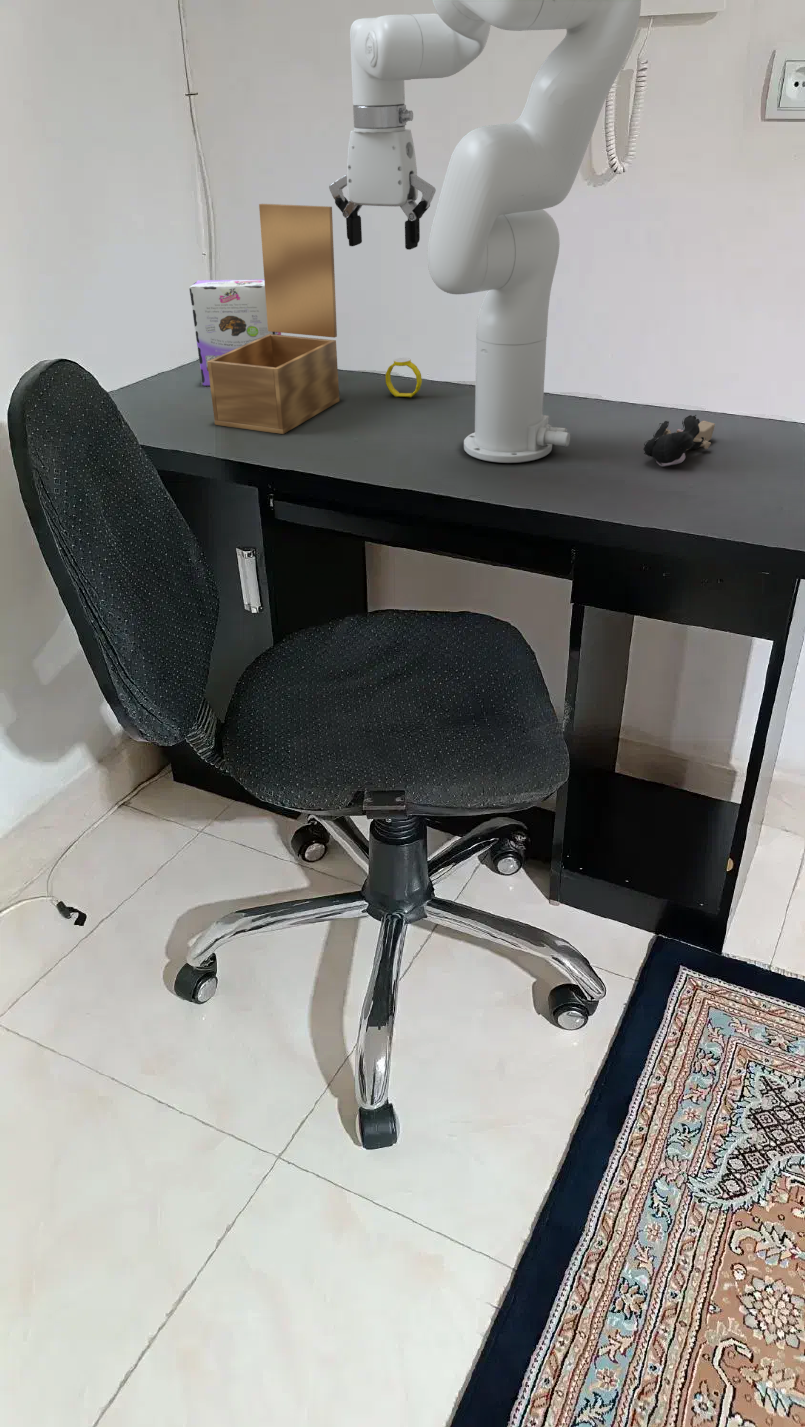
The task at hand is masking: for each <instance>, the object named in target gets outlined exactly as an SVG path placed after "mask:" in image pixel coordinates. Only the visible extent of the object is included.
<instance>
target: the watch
mask: <svg viewBox="0 0 805 1427" xmlns="http://www.w3.org/2000/svg"><path fill="white" fill-rule="evenodd" d="M396 366H397V367H407V368H409V369H411V371H412V372H413V374H414V375H415V380H416V385H415V389H414V391H413V392H399V391H398V390H397V389H396V388H395V387H394V385H393V382H392V379H391V378H392V377H391V376H392V375H391V374H392V371H393V369H394V367H396ZM384 377H385V385H386V387H387V389H388V391H389V392H390V393H391V395H393V397H395V398H412V397H414V396H415V395H417V393H418V392H420V390H421V387H422V383H423V378H422V373H421V371H420V369H419V368H418V366H417V365H416V364H415V363H413V362H412V359H411V358H410V357H397V358H394V359H393V363H392V364H391V365H389V366H388V367H387V370H386V372H385V376H384Z"/></svg>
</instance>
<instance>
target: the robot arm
mask: <svg viewBox="0 0 805 1427" xmlns="http://www.w3.org/2000/svg"><path fill="white" fill-rule="evenodd" d="M431 1H432V4H433V7H434V10H435V12H436V13H407V14H385V15H381V16H377V17H362V18H357V19H356V20H355V19H354V21H353V22H352V24H351V25H350V28H349V45H350V68H351V72H350V73H351V90H352V91H351V92H352V115H353V130H350V132H349V137H348V138H349V139H348V145H347V157H346V159H347V160H346V174H344V175H342V177H340V178H338V179H336V180H335V181H334V182H332V183H331V184H329V186H328V189H329V192H330V194H331V196H332V198H333V200H334V204H335V205H336V207H337V209H338V210H340V212H341V214H342V217H343V218H344V219H345V221H346V222H345V224H346V238H347V240H348V246H349V247H355V246H358V245H360V244H362V243H363V233H362V217H361V215H359V214H358V213H359V212H360V210H361V209H362V207H363V206H369V207H372V206H373V207H400V210H402V212H403V213H404V215H405V216H406V218H407V220H405V221H404V247H405V250H409V251H410V250H413V249H416V248H418V246H419V242H420V239H421V234H420V230H421V229H420V227H421V226H420V224H421V223H420V219H422V217H423V216H424V214H425V213H426V212H427V211H428V210H429V208H430V207H431V202H432V201H433V199H434V196H435V194H436V191H437V190H436V187H435V186H433V185H432V184H430V183H429V182H428V181H426V180H425V179H423V178H421V177H420V176H419V175H418V167H417V158H416V151H415V143H414V140H413V133H412V130H411V129H410V128H409V129H406V126H407V123H408V122H413V120H414V112H413V110H408V108H407V105H406V104H405V103H406V100H405V99H406V98H405V97H406V96H405V93H406V92H405V81H411V80H422V79H443V78H449V77H452V76H453V75H456V74H458V73H459V72H461V71H462V70H463V69H465V68H466V67H467V66H469V65H470V64H471V63H472V62H474V60H476V59H477V58H478V57H479V56H480V55H481V54H482V53H483V51H484V50H485V47H486V46H487V45H486V44H487V42H488V38H489V35H490V31H491V27H492V26H493V27H495V28H497V29H499V30H503V31H513V32H515V31H516V32H522V31H525V32H526V31H552V30H553V31H555V30H566V33H565V35H564V37H563V39H561V41H560V42H559V44H558V45H557V46H556V47H555V48H554V49H553V50H552V51H551V52H550V53H549V54H548V55H547V57H546V58H545V60H544V61H543V63H542V64H541V65H540V67H539V69H538V70H537V72H536V74H535V75H534V78H533V79H532V82H531V85H530V88H529V92H528V95H527V99H526V102H525V104H524V107H523V109H522V112H521V114H520V115H519V117H518V118H517V119H515V120H514V121H512V122H510V123H500V124H491V125H483V126H479V127H476V128H474V129H472V130H470V131H469V132H468V133H466V134H465V135H464V136H463V137H462V138H461V139H460V140H459V141H458V143H457V144H456V145H455V147H454V148H453V151H452V153H451V156H450V159H449V162H448V165H447V168H446V172H445V174H444V179H443V182H442V186H441V189H440V194H439V196H438V197H439V198H438V201H437V204H436V208H435V211H434V216H433V220H432V224H431V228H430V231H429V236H428V242H427V250H426V251H427V254H426V257H427V258H426V259H427V267H428V271H429V275H430V277H431V280H432V282H433V283H434V284H435V286H436V287H437V288H438V289H440V290H441V291H442V292H444V293H447V294H450V295H467V294H475V293H480V292H486V291H487V292H486V293H485V295H484V296H483V297H484V298H483V300H482V301H481V304H480V307H479V310H478V314H477V319H476V327H475V328H476V329H475V330H476V331H475V332H476V333H475V385H474V386H475V387H474V388H475V389H474V391H475V393H474V394H475V395H474V397H475V398H474V432H472V433H470V434H468V435H467V436H466V437H465V438H464V439H463V450H464V451H465V452H466V454H467V455H469V456H470V457H473V458H474V459H477V460H480V461H481V460H482V461H484V462H490V463H500V464H501V463H502V464H517V463H527V462H531V461H532V462H533V461H535V460H539V459H542V458H544V457H546V456H547V455H549V454H550V453H551V452H552V450H553V445H554V446H558V447H564V448H567V447H569V446H570V442H571V433H570V432H568V428H566V427H558V426H557V427H555V426H552V425H551V424H549V423H550V415H545V414H544V399H545V398H544V396H545V395H544V394H545V377H546V376H545V374H546V355H547V337H548V325H549V324H548V322H549V321H548V320H549V309H550V308H549V307H550V300H551V299H550V298H551V292H552V286H553V282H554V277H555V272H556V268H557V264H558V259H559V254H560V244H561V243H560V233H559V229H558V226H557V223H556V222H555V221H556V220H554V218H553V217H552V215H550V213H549V212H548V211H546V209H549V208H554V207H556V206H558V205H560V204H561V203H562V202H563V201H564V200H565V199H566V198H567V196H568V195H569V194H570V191H572V190H571V189H572V187H573V186H574V183H575V181H576V178H577V176H578V173H579V171H580V168H581V165H582V163H583V159H584V157H585V154H586V152H587V150H588V147H589V145H590V141H591V140H592V136H593V134H594V131H595V128H596V126H597V123H598V120H599V117H600V114H601V112H602V109H603V108H604V105H605V102H606V99H607V96H608V95H609V93H610V91H611V88H612V87H613V85H614V83H615V81H616V79H617V77H618V75H619V73H620V72H621V70H622V67H623V65H624V64H625V61H626V59H627V57H628V55H629V53H630V50H631V48H632V46H633V42H634V40H635V38H636V35H637V30H638V27H639V22H640V16H641V7H642V0H431ZM344 188H346V189H347V197H345V195H344V192H343V189H344ZM419 192H421V195H422V196H421V200H420V201H419V202H418V203H417V202H416V201H417V200H418V196H419ZM347 198H348V199H347Z"/></svg>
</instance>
